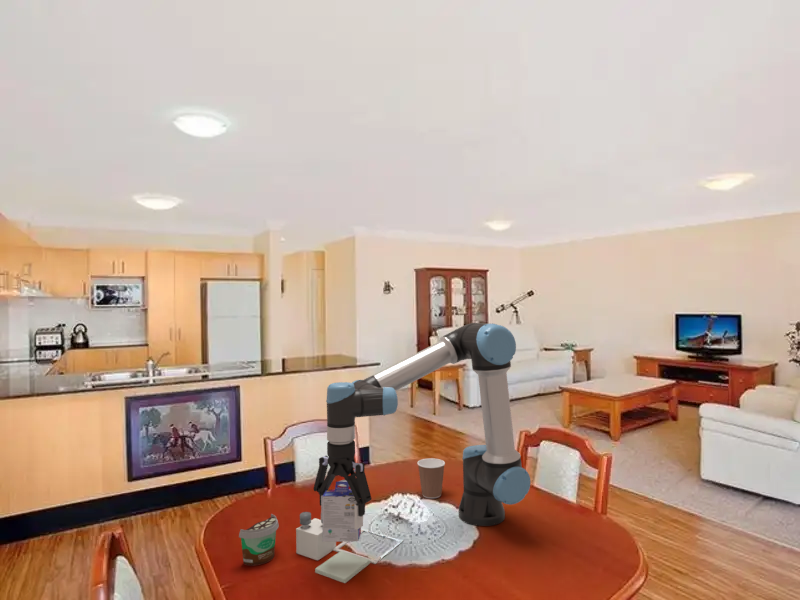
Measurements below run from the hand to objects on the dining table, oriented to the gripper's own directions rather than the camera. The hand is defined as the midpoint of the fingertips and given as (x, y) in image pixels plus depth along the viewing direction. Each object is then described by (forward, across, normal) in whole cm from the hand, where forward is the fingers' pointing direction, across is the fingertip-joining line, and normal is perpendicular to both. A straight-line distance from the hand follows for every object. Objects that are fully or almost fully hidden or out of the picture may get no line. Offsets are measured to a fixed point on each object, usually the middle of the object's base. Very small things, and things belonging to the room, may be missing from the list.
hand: (341, 522), depth 132 cm
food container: (+13, +22, +7) cm, 26 cm away
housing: (+12, +5, -10) cm, 17 cm away
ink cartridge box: (+4, 0, 0) cm, 4 cm away
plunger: (+7, +15, -2) cm, 17 cm away
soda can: (+12, +18, -25) cm, 33 cm away
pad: (+12, 0, 0) cm, 12 cm away
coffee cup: (+12, +3, -57) cm, 58 cm away
